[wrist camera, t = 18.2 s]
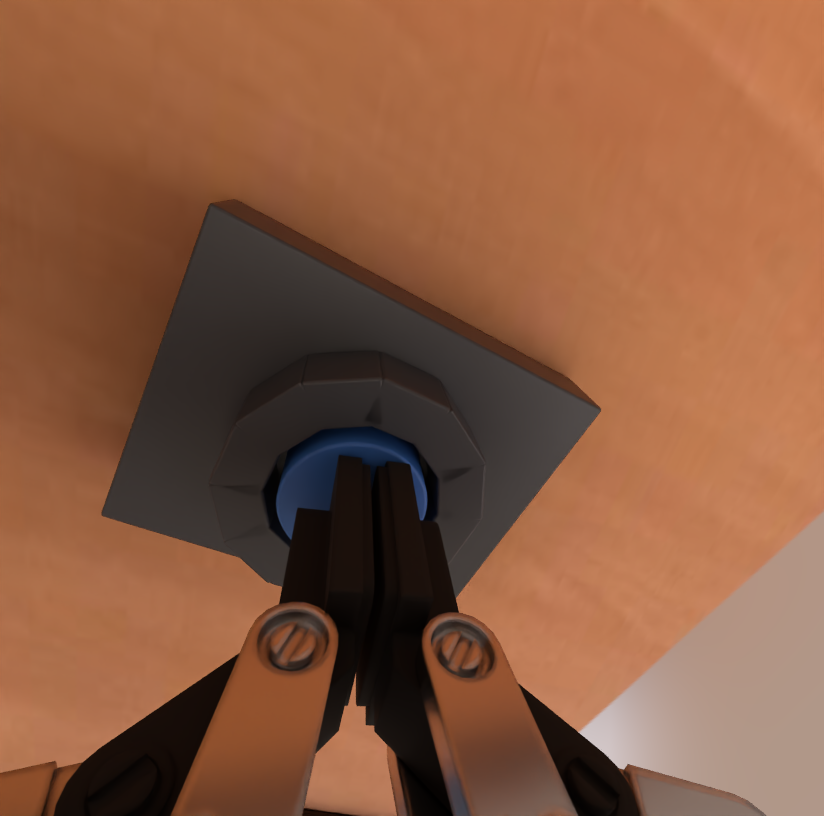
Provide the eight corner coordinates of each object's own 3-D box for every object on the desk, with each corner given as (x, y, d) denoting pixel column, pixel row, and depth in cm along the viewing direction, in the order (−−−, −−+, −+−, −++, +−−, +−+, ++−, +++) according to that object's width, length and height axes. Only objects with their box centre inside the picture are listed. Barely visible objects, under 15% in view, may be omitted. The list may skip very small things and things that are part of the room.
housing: (133, 470, 15) (61, 565, 11) (233, 197, 12) (178, 207, 8) (431, 571, 18) (449, 668, 14) (571, 379, 15) (638, 442, 11)
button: (265, 493, 13) (252, 538, 11) (319, 386, 11) (313, 418, 10) (382, 535, 14) (385, 580, 12) (443, 440, 13) (455, 477, 11)
